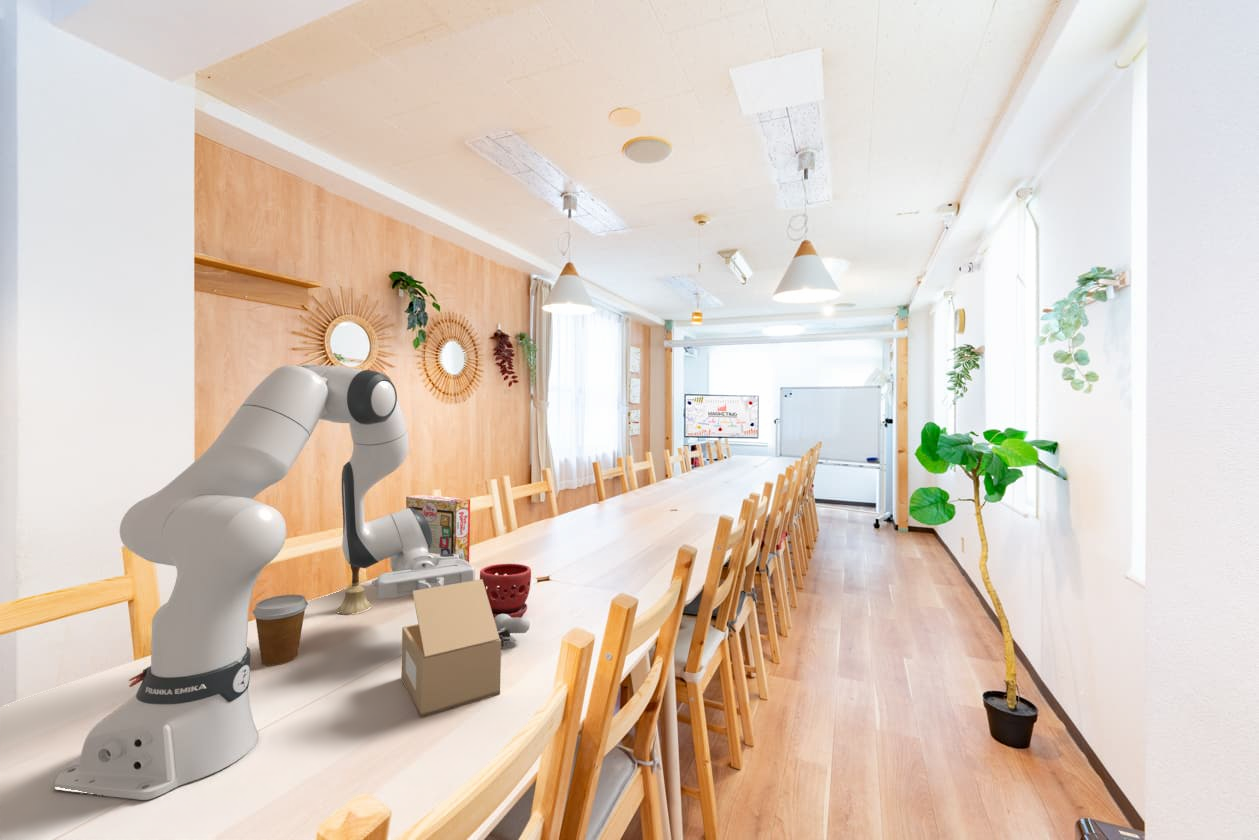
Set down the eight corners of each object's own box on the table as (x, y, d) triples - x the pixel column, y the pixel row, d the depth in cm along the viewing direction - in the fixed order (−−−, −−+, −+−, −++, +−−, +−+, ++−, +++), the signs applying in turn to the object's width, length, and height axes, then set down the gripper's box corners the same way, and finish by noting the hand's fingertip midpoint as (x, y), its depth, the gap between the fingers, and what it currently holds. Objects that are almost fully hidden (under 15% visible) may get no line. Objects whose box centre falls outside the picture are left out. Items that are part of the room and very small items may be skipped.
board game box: (469, 588, 153) (471, 498, 153) (454, 594, 147) (456, 501, 147) (419, 578, 161) (421, 493, 161) (403, 584, 155) (405, 495, 155)
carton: (400, 678, 99) (401, 627, 99) (472, 659, 108) (473, 612, 108) (420, 718, 86) (421, 659, 86) (500, 693, 94) (501, 640, 94)
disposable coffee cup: (246, 658, 106) (248, 601, 106) (299, 644, 113) (300, 590, 113) (257, 674, 100) (258, 613, 100) (312, 658, 107) (313, 601, 107)
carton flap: (412, 592, 95) (412, 590, 95) (481, 580, 102) (482, 579, 102) (424, 657, 87) (425, 656, 86) (499, 639, 94) (499, 638, 94)
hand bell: (378, 607, 136) (379, 548, 136) (347, 617, 129) (348, 554, 129) (361, 601, 140) (362, 543, 140) (330, 610, 133) (331, 549, 133)
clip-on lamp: (446, 653, 117) (501, 655, 108) (440, 626, 117) (495, 626, 108) (484, 631, 127) (538, 631, 118) (479, 605, 127) (532, 604, 118)
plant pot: (538, 617, 132) (539, 571, 132) (488, 627, 124) (489, 579, 124) (519, 601, 142) (519, 559, 142) (472, 610, 135) (473, 565, 135)
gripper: (370, 565, 111) (381, 583, 100) (464, 553, 123) (483, 567, 112) (370, 594, 111) (381, 615, 100) (463, 579, 123) (483, 595, 112)
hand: (436, 589), depth 106 cm, fingers closed
